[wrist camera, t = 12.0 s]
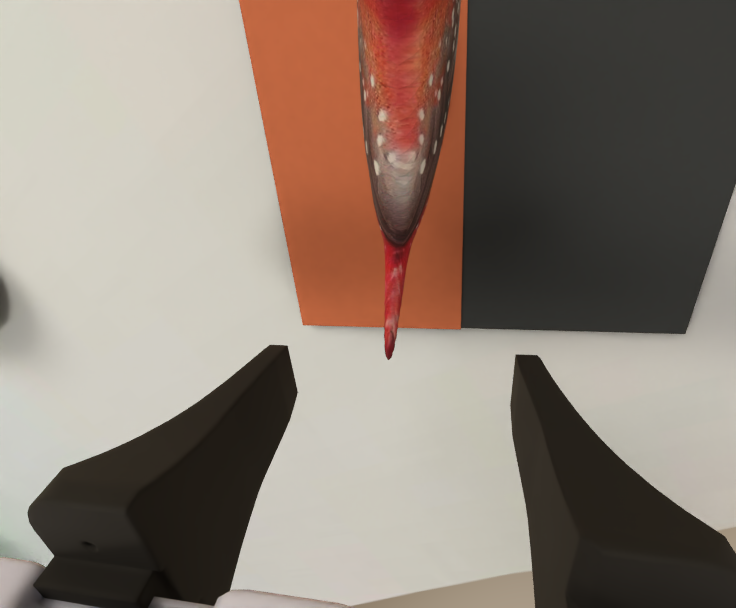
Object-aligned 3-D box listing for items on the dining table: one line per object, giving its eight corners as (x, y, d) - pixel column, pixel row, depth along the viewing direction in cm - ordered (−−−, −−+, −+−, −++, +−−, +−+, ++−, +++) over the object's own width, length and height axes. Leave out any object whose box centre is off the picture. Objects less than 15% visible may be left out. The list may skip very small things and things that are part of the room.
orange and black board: (911, -373, 12) (931, -390, 11) (681, 328, 23) (686, 335, 23) (203, -216, 16) (195, -223, 15) (305, 319, 27) (303, 325, 27)
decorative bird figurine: (483, -196, 14) (512, -482, 6) (431, 289, 24) (415, 437, 16) (391, -192, 15) (299, -456, 6) (377, 284, 24) (332, 424, 16)
